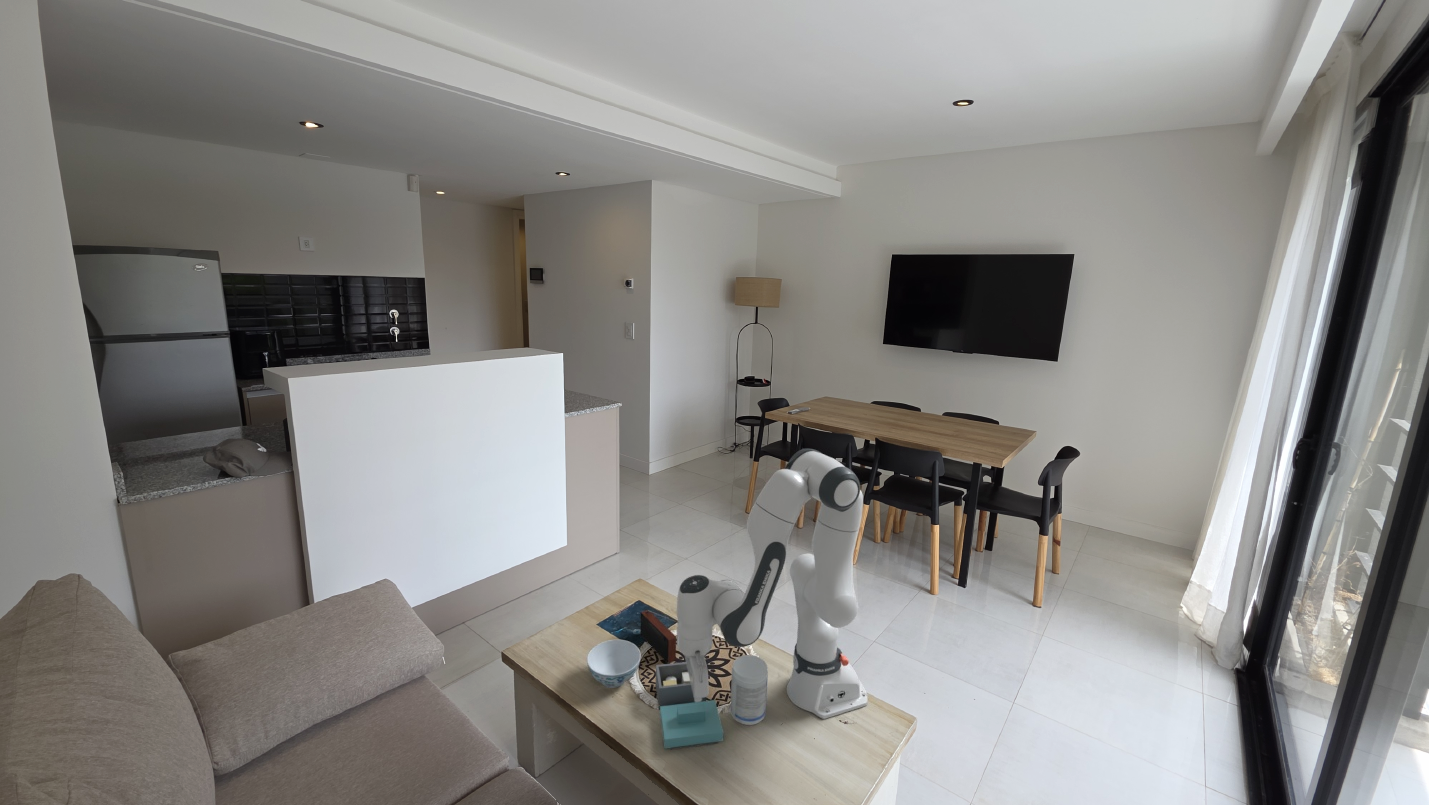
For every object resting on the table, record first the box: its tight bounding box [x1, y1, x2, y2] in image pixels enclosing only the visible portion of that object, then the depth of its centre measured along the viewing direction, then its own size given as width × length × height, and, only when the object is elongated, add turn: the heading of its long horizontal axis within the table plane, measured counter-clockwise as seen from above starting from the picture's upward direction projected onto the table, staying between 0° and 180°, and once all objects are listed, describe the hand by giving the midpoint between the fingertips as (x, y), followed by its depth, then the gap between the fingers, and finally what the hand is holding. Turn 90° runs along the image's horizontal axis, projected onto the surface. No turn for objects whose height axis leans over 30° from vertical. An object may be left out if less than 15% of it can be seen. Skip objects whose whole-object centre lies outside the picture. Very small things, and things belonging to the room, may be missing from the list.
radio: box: [640, 609, 678, 664], centre depth 175 cm, size 19×3×15 cm, turn 37°
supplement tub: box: [729, 654, 769, 726], centre depth 152 cm, size 10×10×15 cm
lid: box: [659, 699, 724, 749], centre depth 147 cm, size 15×11×6 cm
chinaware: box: [586, 639, 642, 689], centre depth 163 cm, size 15×15×8 cm
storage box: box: [655, 661, 708, 711], centre depth 158 cm, size 13×9×7 cm
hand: (694, 685), depth 144 cm, fingers open, 8 cm apart
